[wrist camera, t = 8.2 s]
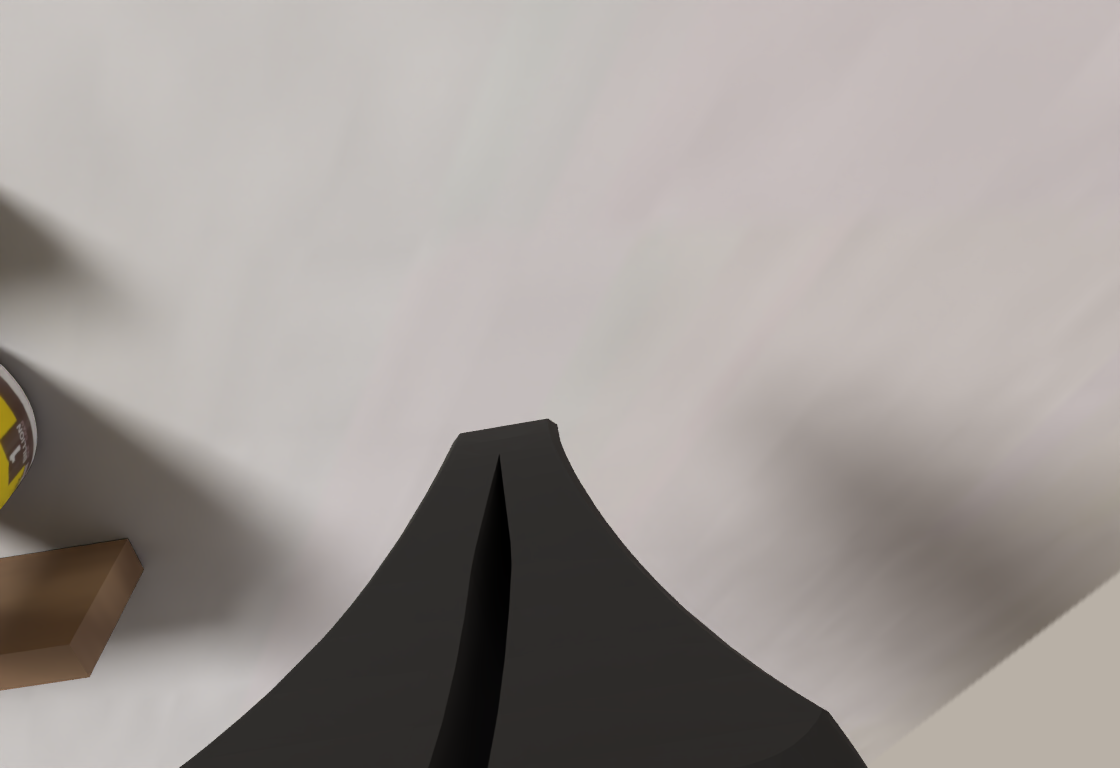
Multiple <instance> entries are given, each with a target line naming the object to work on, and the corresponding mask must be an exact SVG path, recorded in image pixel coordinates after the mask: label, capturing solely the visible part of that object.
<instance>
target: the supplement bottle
mask: <svg viewBox="0 0 1120 768" xmlns="http://www.w3.org/2000/svg"><path fill="white" fill-rule="evenodd" d="M36 446H37V428H36V422H35V417H34V413H33V410H32V407H31V405H30V402H29V400H28V399H27V397H26V395H25V393H24V392H23V390H22V388H21V387H20V385H19V384H18V383H17V382H16V380H15V379H14V378H13V377H12V375H11V374H10V373H9V372H8V371H7V370H6V369H5V368H4V367H3V366H2V365H1V364H0V509H1V508H2V507H3V505H4V504H5V503H6V501H7V500H8V499H9V497H10V496H11V495H12V493H13V492H14V491H15V489H16V488H17V487H18V485H19V484H20V482H21V481H22V479H23V478H24V477H25V475H26V474H27V472H28V470H29V468H30V466H31V464H32V462H33V459H34V455H35V452H36Z"/></svg>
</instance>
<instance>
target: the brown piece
mask: <svg viewBox="0 0 1120 768" xmlns="http://www.w3.org/2000/svg"><path fill="white" fill-rule="evenodd" d="M143 570H144V569H143V567H142V565H141V563H140V561H139V559H138V557H137V555H136V553H135V551H134V550H133V548H132V546H131V544H130V542H129V540H128V539H123V540H116V541H110V542H103V543H97V544H90V545H84V546H77V547H71V548H64V549H58V550H51V551H45V552H38V553H32V554H25V555H19V556H12V557H6V558H0V690H7V689H13V688H20V687H27V686H33V685H40V684H47V683H53V682H60V681H67V680H74V679H80V678H87V677H90V675H91V673H92V671H93V669H94V667H95V665H96V663H97V661H98V659H99V657H100V655H101V653H102V651H103V649H104V647H105V645H106V643H107V642H108V640H109V638H110V636H111V634H112V632H113V630H114V628H115V626H116V624H117V622H118V620H119V618H120V616H121V614H122V612H123V610H124V608H125V606H126V604H127V602H128V600H129V598H130V596H131V594H132V592H133V590H134V588H135V586H136V584H137V582H138V580H139V578H140V576H141V574H142V572H143Z"/></svg>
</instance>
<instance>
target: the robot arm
mask: <svg viewBox="0 0 1120 768" xmlns="http://www.w3.org/2000/svg"><path fill="white" fill-rule="evenodd" d="M180 768H867V766H866V764H865V763H864V761H863V760H862V758H861V757H860V755H859V754H858V752H857V751H856V749H855V748H854V746H853V745H852V744H851V742H850V741H849V739H848V738H847V737H846V735H845V734H844V732H843V731H842V730H841V728H840V727H839V725H838V724H837V723H836V721H835V720H834V719H833V717H832V716H831V715H830V713H829V712H828V711H826V710H824V709H823V708H821V707H819V706H818V705H816V704H814V703H813V702H811V701H809V700H808V699H806V698H804V697H803V696H801V695H800V694H798V693H796V692H795V691H793V690H792V689H790V688H789V687H787V686H786V685H784V684H782V683H781V682H779V681H778V680H776V679H775V678H773V677H772V676H770V675H769V674H767V673H766V672H764V671H763V670H762V669H760V668H759V667H758V666H756V665H755V664H753V663H752V662H751V661H749V660H748V659H747V658H745V657H744V656H742V655H741V654H740V653H738V652H737V651H736V650H734V649H733V648H731V647H730V646H729V645H728V644H727V643H725V642H724V641H723V640H722V639H721V638H719V637H718V636H717V635H716V634H715V633H713V632H712V631H711V630H710V629H709V628H707V627H706V626H705V625H704V624H703V623H701V622H700V621H699V620H698V619H697V618H696V617H694V616H693V615H692V614H691V613H690V612H688V611H687V610H686V609H685V608H684V607H683V606H682V605H680V604H679V603H678V602H677V601H676V600H675V599H674V598H673V597H672V596H671V595H670V594H669V593H668V592H667V591H666V590H665V589H664V588H663V587H662V586H661V585H660V584H659V583H658V582H657V581H656V580H655V579H654V578H653V577H652V576H651V575H650V573H649V572H648V571H647V570H646V569H645V568H644V567H643V566H642V565H641V564H640V563H639V562H638V560H637V559H636V558H635V557H634V556H633V555H632V554H631V552H630V551H629V550H628V549H627V547H626V546H625V545H624V544H623V543H622V541H621V540H620V539H619V538H618V536H617V535H616V534H615V532H614V531H613V530H612V528H611V527H610V526H609V525H608V523H607V522H606V521H605V519H604V518H603V516H602V515H601V513H600V512H599V511H598V509H597V508H596V506H595V505H594V503H593V502H592V500H591V498H590V497H589V495H588V494H587V492H586V491H585V489H584V487H583V486H582V484H581V483H580V481H579V479H578V478H577V476H576V474H575V472H574V470H573V468H572V466H571V464H570V462H569V460H568V458H567V456H566V454H565V452H564V449H563V447H562V444H561V442H560V437H559V432H558V427H557V424H555V423H554V422H552V421H551V420H549V419H543V420H537V421H531V422H525V423H519V424H513V425H507V426H502V427H496V428H490V429H484V430H478V431H472V432H466V433H460V434H459V436H458V437H457V438H456V440H455V441H454V443H453V445H452V447H451V449H450V450H449V452H448V454H447V456H446V458H445V460H444V462H443V464H442V466H441V468H440V470H439V472H438V474H437V475H436V477H435V479H434V481H433V483H432V484H431V486H430V488H429V490H428V492H427V494H426V495H425V497H424V499H423V500H422V502H421V504H420V505H419V507H418V509H417V510H416V512H415V514H414V515H413V517H412V519H411V520H410V522H409V524H408V525H407V527H406V529H405V530H404V532H403V533H402V535H401V536H400V538H399V540H398V541H397V543H396V544H395V545H394V547H393V548H392V550H391V551H390V553H389V554H388V556H387V557H386V558H385V560H384V561H383V563H382V564H381V566H380V567H379V569H378V570H377V571H376V573H375V574H374V576H373V577H372V579H371V580H370V581H369V583H368V584H367V585H366V587H365V588H364V589H363V591H362V592H361V593H360V595H359V596H358V597H357V598H356V600H355V601H354V602H353V603H352V605H351V606H350V607H349V608H348V610H347V611H346V612H345V613H344V615H343V616H342V617H341V618H340V619H339V620H338V622H337V623H336V624H335V625H334V626H333V628H332V629H331V630H330V631H329V632H328V633H327V634H326V635H325V637H324V638H323V639H322V640H321V641H320V642H319V643H318V644H317V645H316V646H315V647H314V648H313V649H312V650H311V651H310V652H309V653H308V654H307V655H306V656H305V657H304V658H303V659H302V660H301V661H300V662H299V663H298V664H297V665H296V666H295V667H294V668H293V669H292V670H291V671H290V672H289V673H288V674H287V675H286V676H285V677H284V678H283V679H282V680H281V681H280V682H279V683H278V684H277V685H276V686H275V687H274V688H273V689H272V690H271V691H270V692H269V693H268V694H267V695H266V696H265V697H264V698H262V699H261V700H260V701H259V702H258V703H257V704H256V705H255V706H253V707H252V708H251V709H250V710H249V711H248V712H247V713H246V714H244V715H243V716H242V717H241V718H240V719H239V720H238V721H236V722H235V723H234V724H233V725H232V726H231V727H229V728H228V729H227V730H226V731H225V732H223V733H222V734H221V735H220V736H219V737H217V738H216V739H215V740H214V741H213V742H211V743H210V744H209V745H208V746H207V747H205V748H204V749H203V750H202V751H200V752H199V753H198V754H196V755H195V756H194V757H193V758H191V759H190V760H189V761H188V762H186V763H185V764H184V765H182V766H181V767H180Z"/></svg>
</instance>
